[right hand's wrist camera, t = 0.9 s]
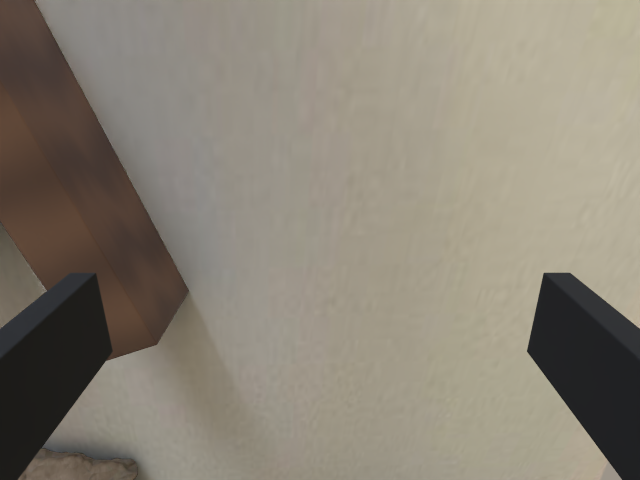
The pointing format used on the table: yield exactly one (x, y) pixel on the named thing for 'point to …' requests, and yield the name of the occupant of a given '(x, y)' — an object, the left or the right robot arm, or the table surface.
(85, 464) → the stone
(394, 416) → the table surface
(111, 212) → the walnut block
